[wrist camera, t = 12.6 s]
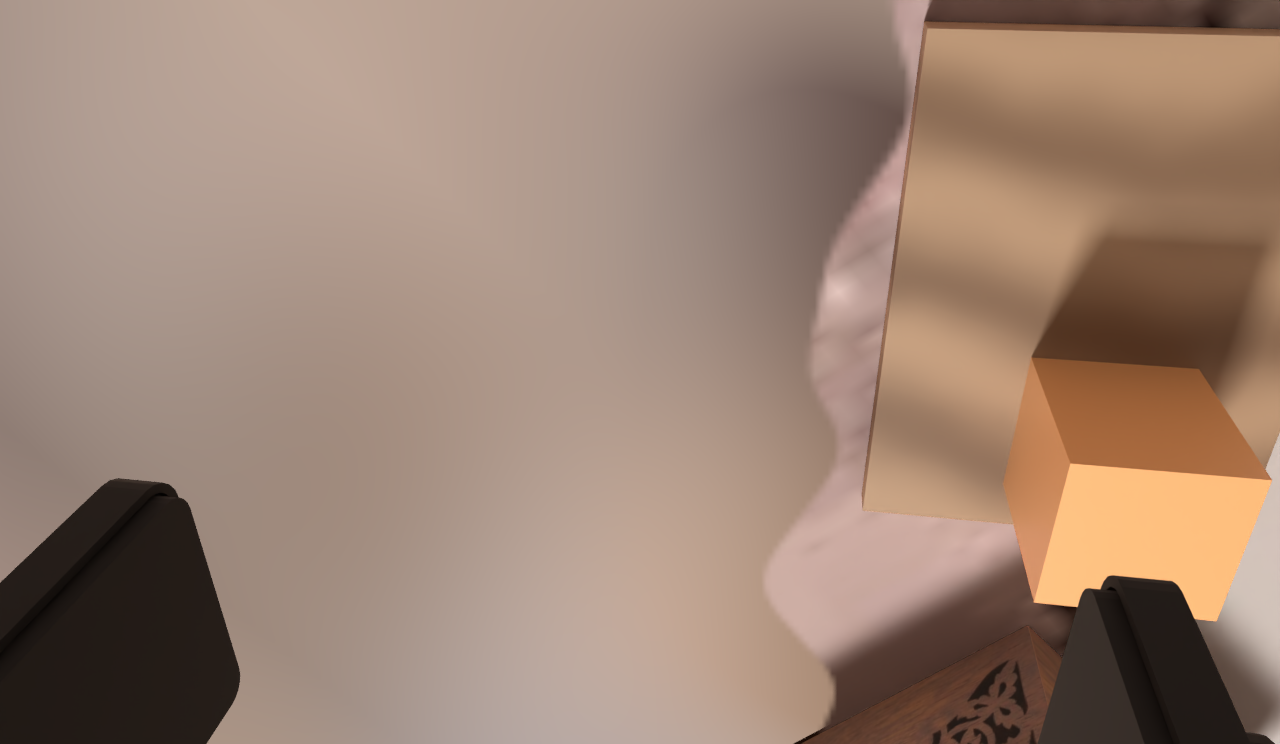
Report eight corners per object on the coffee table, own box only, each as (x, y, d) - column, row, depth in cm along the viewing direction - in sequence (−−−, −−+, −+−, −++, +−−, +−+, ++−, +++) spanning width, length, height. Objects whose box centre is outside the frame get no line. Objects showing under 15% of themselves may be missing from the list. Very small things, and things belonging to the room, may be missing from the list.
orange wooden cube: (1031, 357, 37) (1070, 463, 31) (1198, 368, 36) (1272, 480, 31) (1003, 483, 40) (1033, 602, 34) (1157, 497, 40) (1216, 621, 34)
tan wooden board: (924, 21, 33) (927, 28, 32) (1411, 32, 31) (1431, 39, 30) (861, 493, 43) (862, 510, 42) (1225, 526, 41) (1235, 545, 40)
